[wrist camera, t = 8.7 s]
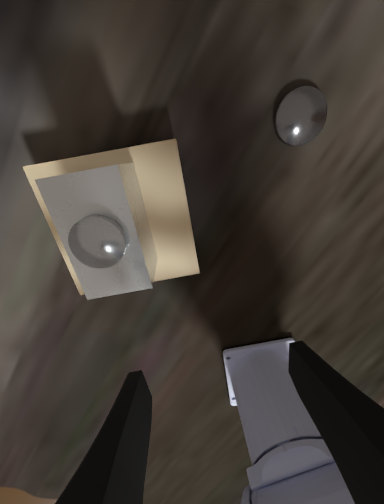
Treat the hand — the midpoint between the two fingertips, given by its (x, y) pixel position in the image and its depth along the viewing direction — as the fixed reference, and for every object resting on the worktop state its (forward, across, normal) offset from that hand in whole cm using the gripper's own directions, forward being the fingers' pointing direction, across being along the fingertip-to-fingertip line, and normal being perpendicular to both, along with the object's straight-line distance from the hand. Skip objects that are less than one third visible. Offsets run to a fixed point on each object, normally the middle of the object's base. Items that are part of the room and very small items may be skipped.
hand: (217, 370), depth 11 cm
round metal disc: (+11, -9, -11) cm, 18 cm away
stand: (+10, +5, -6) cm, 13 cm away
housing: (+8, +5, -6) cm, 12 cm away
